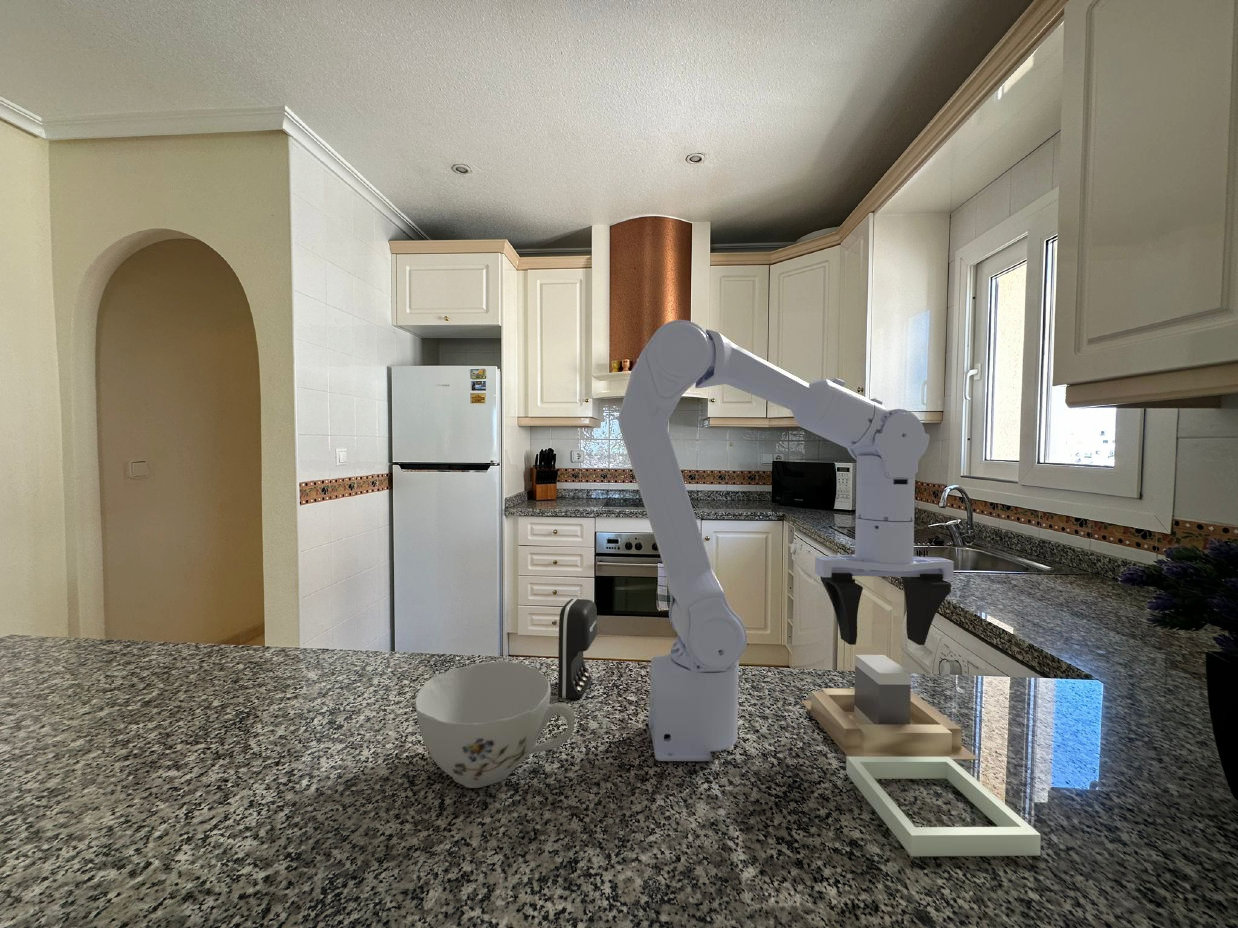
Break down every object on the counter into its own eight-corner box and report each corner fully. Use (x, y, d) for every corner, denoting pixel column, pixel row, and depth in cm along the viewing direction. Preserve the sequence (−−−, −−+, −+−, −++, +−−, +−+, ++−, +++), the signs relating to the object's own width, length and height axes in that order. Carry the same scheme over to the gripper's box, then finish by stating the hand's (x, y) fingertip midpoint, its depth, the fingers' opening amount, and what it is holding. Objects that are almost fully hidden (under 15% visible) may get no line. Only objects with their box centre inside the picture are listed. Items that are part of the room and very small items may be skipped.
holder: (849, 769, 48) (850, 738, 48) (801, 708, 60) (801, 684, 60) (979, 769, 49) (979, 738, 49) (905, 708, 61) (905, 684, 61)
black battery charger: (586, 703, 61) (588, 610, 61) (556, 700, 61) (558, 608, 61) (598, 679, 68) (599, 596, 68) (571, 676, 68) (572, 594, 68)
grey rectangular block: (878, 739, 52) (879, 672, 52) (854, 715, 57) (855, 654, 57) (909, 739, 52) (911, 673, 52) (883, 715, 57) (884, 654, 57)
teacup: (384, 808, 42) (386, 714, 42) (449, 729, 54) (450, 657, 54) (558, 824, 40) (560, 726, 40) (584, 739, 53) (585, 665, 53)
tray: (911, 868, 36) (911, 835, 36) (846, 783, 46) (846, 756, 46) (1040, 867, 37) (1040, 834, 37) (948, 782, 47) (948, 756, 47)
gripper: (924, 516, 59) (923, 629, 59) (804, 514, 58) (802, 629, 58) (968, 523, 52) (966, 652, 52) (832, 521, 51) (830, 651, 51)
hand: (882, 641), depth 55 cm, fingers open, 7 cm apart
